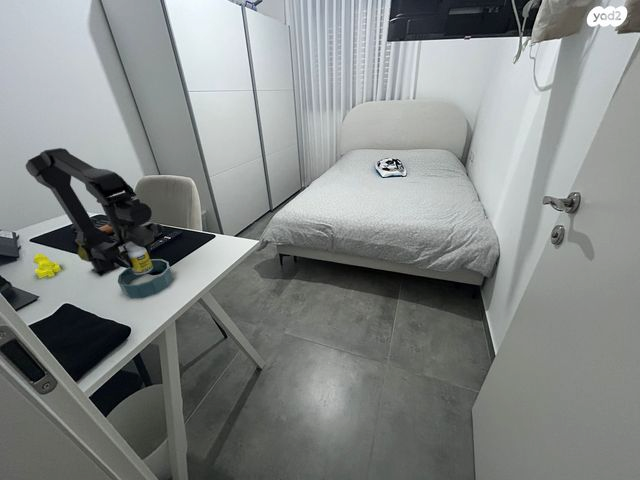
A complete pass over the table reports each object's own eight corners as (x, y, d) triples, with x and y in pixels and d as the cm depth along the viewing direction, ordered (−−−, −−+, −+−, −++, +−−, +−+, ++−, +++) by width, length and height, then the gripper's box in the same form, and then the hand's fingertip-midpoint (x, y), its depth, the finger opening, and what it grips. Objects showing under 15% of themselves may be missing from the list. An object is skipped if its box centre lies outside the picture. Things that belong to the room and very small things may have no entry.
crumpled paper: (40, 280, 88) (27, 261, 85) (36, 272, 93) (24, 254, 89) (63, 272, 92) (51, 254, 89) (58, 264, 97) (46, 246, 93)
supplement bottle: (144, 276, 80) (132, 249, 76) (129, 274, 81) (117, 248, 77) (157, 266, 85) (147, 240, 80) (143, 264, 86) (132, 239, 81)
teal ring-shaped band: (115, 289, 84) (109, 276, 81) (157, 266, 94) (153, 255, 92) (139, 304, 78) (133, 291, 75) (182, 278, 88) (177, 266, 86)
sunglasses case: (119, 224, 125) (117, 215, 120) (127, 234, 124) (126, 225, 119) (73, 240, 112) (69, 230, 107) (82, 251, 111) (79, 242, 106)
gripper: (106, 237, 64) (130, 286, 72) (168, 209, 79) (182, 252, 87) (77, 230, 67) (103, 278, 75) (142, 204, 82) (158, 246, 90)
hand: (140, 262), depth 82 cm, fingers closed on supplement bottle, 5 cm apart
